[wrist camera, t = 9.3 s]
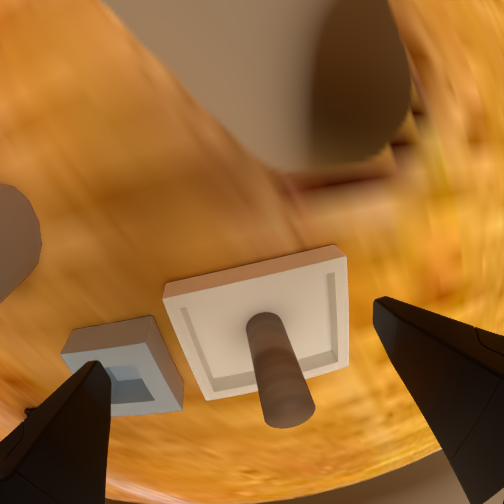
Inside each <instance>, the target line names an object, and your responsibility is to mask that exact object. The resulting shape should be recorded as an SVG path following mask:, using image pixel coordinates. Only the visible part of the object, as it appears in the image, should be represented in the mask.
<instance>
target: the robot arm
mask: <svg viewBox="0 0 504 504" xmlns="http://www.w3.org/2000/svg"><path fill="white" fill-rule="evenodd" d="M373 325H374V328H375V330H376V332H377V334H378V336H379V338H380V340H381V342H382V344H383V346H384V348H385V350H386V353H387V355H388V357H389V359H390V361H391V363H392V365H393V366H394V368H395V370H396V371H397V373H398V374H399V376H400V378H401V379H402V381H403V382H404V384H405V386H406V387H407V389H408V391H409V392H410V394H411V396H412V397H413V399H414V401H415V402H416V404H417V406H418V407H419V409H420V411H421V413H422V414H423V416H424V418H425V419H426V421H427V423H428V425H429V426H430V428H431V430H432V432H433V433H434V435H435V437H436V439H437V441H438V442H439V444H440V446H441V448H442V450H443V451H444V453H445V455H446V457H447V459H448V461H450V462H449V463H450V465H451V467H452V468H453V470H454V472H455V474H456V476H457V478H458V480H459V482H460V484H461V486H462V488H463V490H464V492H465V494H466V496H467V498H468V500H469V502H470V504H483V503H484V502H485V501H487V500H489V499H490V498H491V497H492V496H494V495H495V494H496V493H497V492H499V491H500V490H501V489H502V488H504V336H502V335H498V334H495V333H492V332H489V331H486V330H483V329H480V328H477V327H475V328H474V326H471V325H468V324H466V323H463V322H460V321H457V320H454V319H451V318H448V317H445V316H442V315H440V314H437V313H434V312H431V311H428V310H425V309H422V308H419V307H416V306H413V305H411V304H408V303H405V302H402V301H399V300H396V299H393V298H390V297H387V296H384V297H380V298H377V299H375V300H374V302H373ZM111 389H112V382H111V378H110V376H109V375H108V373H107V372H106V370H105V368H104V367H103V365H102V364H101V362H100V361H98V360H93V361H88V362H86V363H85V364H84V365H83V366H82V367H81V368H80V369H78V370H77V371H76V372H75V373H74V374H73V375H72V376H71V377H70V378H69V379H68V380H66V381H65V382H64V383H63V384H62V385H61V386H60V387H59V388H58V389H57V390H56V391H55V392H53V393H52V394H51V395H50V396H49V397H48V398H47V399H46V400H45V401H44V402H43V403H42V404H41V405H40V406H38V407H37V408H36V409H25V411H24V413H25V414H26V415H27V418H26V419H25V420H24V421H23V422H22V423H21V424H19V425H18V426H17V427H16V428H15V429H14V430H13V431H12V432H11V433H10V434H9V435H8V436H7V437H5V438H4V439H3V440H2V441H1V442H0V504H105V487H106V468H107V454H108V443H109V433H110V423H111ZM503 504H504V501H503Z"/></svg>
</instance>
